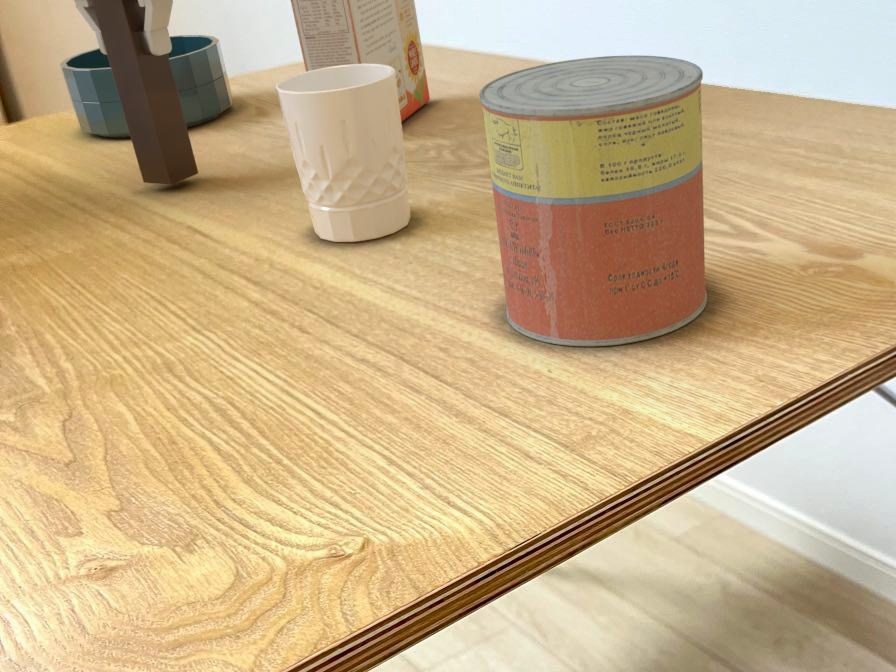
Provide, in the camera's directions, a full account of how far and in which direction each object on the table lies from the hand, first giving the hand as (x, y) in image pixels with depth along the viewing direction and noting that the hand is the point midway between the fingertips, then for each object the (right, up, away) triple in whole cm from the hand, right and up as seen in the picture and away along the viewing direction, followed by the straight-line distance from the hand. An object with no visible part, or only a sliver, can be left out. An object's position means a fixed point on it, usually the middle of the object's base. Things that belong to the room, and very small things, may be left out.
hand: (137, 53), depth 89 cm
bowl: (-7, +5, +27) cm, 29 cm away
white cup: (+19, -16, -8) cm, 26 cm away
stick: (+1, -8, +5) cm, 10 cm away
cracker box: (+16, +1, +17) cm, 24 cm away
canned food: (+35, -25, -24) cm, 49 cm away
